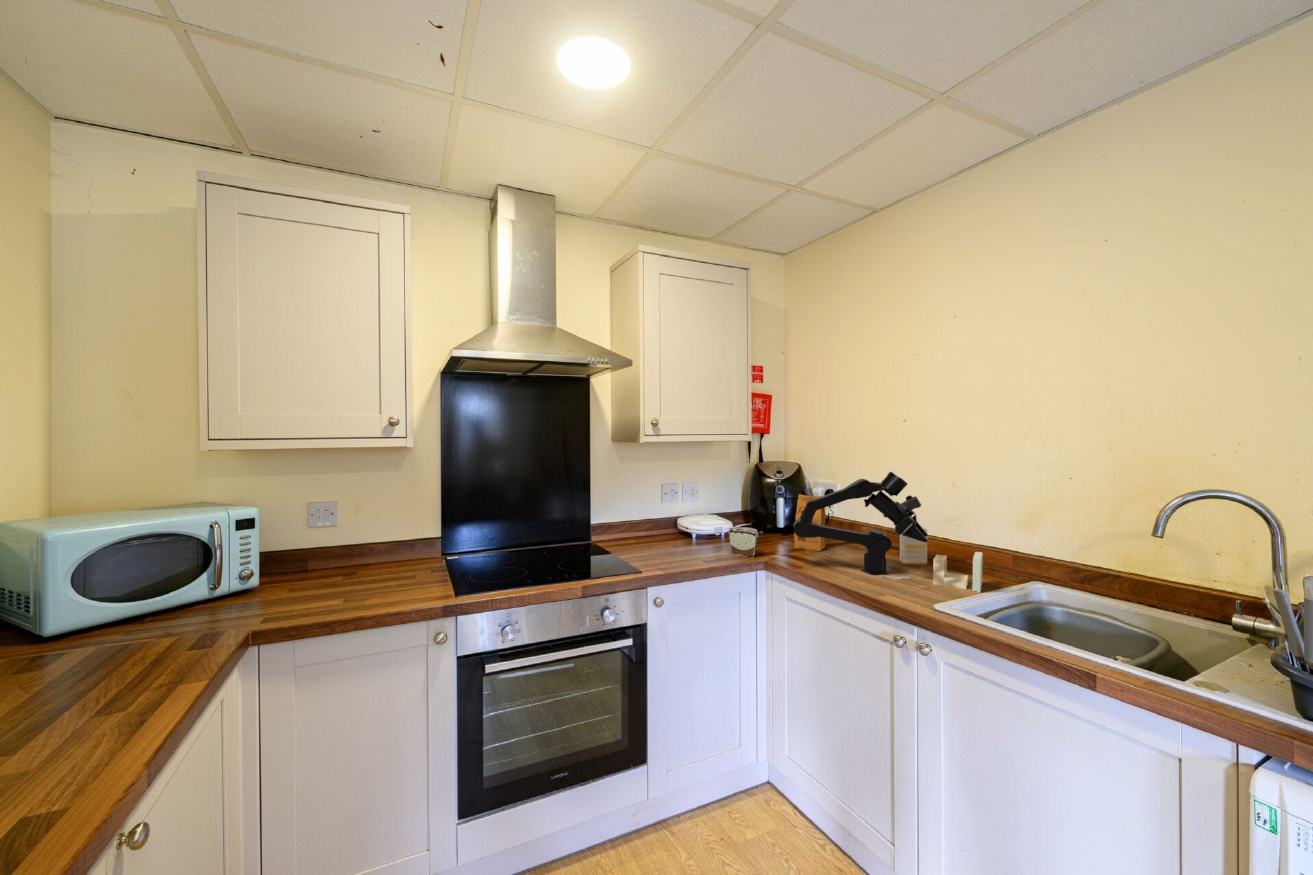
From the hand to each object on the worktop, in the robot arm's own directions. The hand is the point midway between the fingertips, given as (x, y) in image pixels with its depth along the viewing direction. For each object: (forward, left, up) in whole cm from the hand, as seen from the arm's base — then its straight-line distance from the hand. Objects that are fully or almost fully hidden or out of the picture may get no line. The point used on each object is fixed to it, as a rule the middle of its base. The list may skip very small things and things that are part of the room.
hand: (926, 538), depth 174 cm
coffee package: (-15, +48, -13) cm, 52 cm away
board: (+8, -13, -13) cm, 20 cm away
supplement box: (+10, +18, -13) cm, 24 cm away
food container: (-45, +44, -13) cm, 64 cm away
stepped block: (+3, -7, -13) cm, 15 cm away
